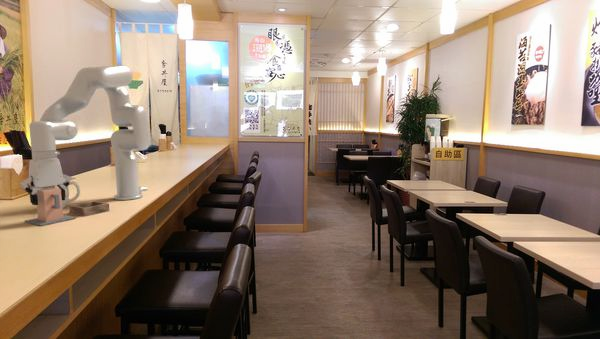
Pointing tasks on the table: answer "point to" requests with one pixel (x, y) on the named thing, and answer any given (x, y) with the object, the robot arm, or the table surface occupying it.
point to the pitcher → (67, 192)
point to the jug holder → (89, 208)
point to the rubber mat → (43, 223)
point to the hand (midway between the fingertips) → (48, 202)
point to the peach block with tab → (49, 204)
